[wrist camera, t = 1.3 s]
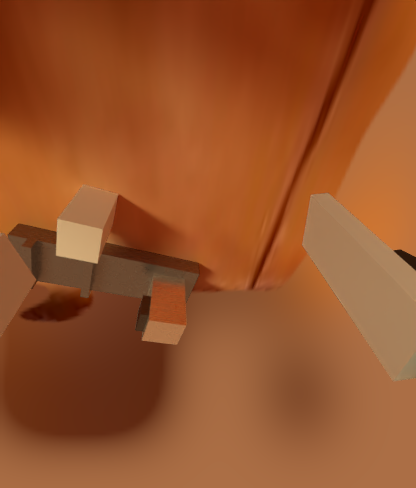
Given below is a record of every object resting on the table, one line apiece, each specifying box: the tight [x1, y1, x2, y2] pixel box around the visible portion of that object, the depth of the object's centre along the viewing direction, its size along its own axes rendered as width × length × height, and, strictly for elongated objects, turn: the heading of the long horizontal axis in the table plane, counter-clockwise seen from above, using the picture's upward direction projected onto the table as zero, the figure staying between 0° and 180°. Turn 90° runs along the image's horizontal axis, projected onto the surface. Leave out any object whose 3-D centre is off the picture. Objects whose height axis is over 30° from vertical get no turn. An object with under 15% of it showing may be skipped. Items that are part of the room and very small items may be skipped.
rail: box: [8, 224, 199, 344], centre depth 33 cm, size 24×7×10 cm, turn 70°
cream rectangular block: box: [56, 184, 118, 264], centre depth 29 cm, size 6×4×8 cm
